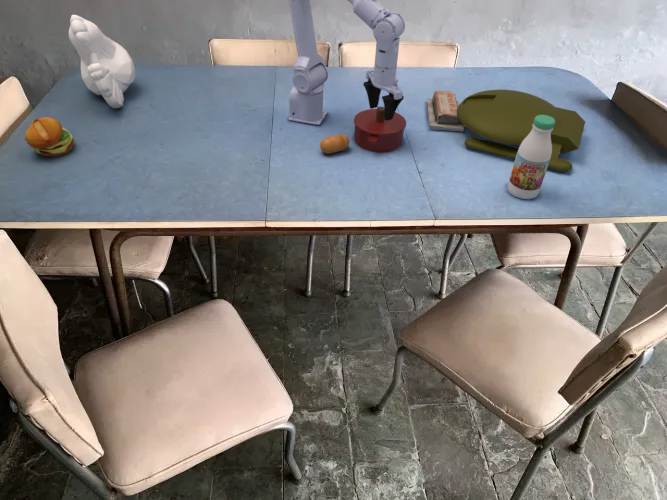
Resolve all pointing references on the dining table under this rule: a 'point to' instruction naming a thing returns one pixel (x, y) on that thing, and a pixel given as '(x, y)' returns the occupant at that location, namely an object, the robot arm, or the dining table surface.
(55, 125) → the cheeseburger
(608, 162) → the dining table surface
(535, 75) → the dining table surface
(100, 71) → the white rounded figure
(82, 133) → the dining table surface
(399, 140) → the pot
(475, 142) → the spaceship
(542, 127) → the milk bottle
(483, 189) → the dining table surface
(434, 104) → the packaged product
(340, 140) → the bread roll
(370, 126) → the pot lid
